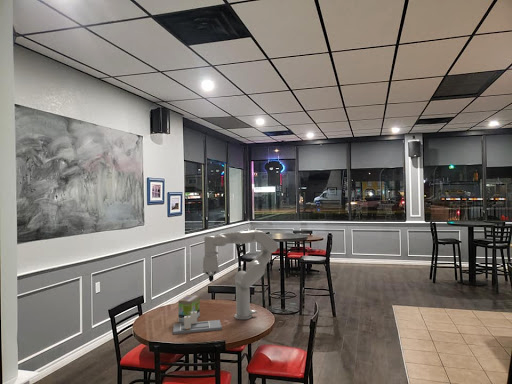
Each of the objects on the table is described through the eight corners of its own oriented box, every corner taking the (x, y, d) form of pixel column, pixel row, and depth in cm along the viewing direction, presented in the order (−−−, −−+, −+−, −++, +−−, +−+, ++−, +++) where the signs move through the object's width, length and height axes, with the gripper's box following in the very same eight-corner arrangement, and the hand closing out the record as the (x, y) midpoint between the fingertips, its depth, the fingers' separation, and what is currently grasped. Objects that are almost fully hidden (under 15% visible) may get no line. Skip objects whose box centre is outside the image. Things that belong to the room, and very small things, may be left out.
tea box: (192, 323, 234) (191, 301, 234) (178, 322, 236) (177, 300, 236) (200, 315, 249) (199, 295, 249) (186, 315, 251) (186, 294, 251)
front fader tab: (190, 326, 222) (190, 314, 222) (190, 328, 219) (190, 316, 219) (184, 327, 221) (184, 315, 221) (184, 329, 218) (184, 317, 218)
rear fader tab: (197, 321, 230) (196, 310, 231) (197, 323, 227) (197, 312, 228) (190, 322, 230) (190, 311, 230) (191, 324, 227) (190, 312, 227)
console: (219, 322, 235) (219, 319, 235) (221, 329, 221) (221, 326, 221) (173, 326, 229) (173, 323, 229) (172, 334, 215) (172, 331, 215)
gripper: (220, 252, 242) (221, 279, 242) (199, 254, 239) (199, 281, 239) (221, 254, 235) (222, 281, 234) (199, 255, 232) (200, 283, 231)
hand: (211, 281), depth 237 cm, fingers closed
